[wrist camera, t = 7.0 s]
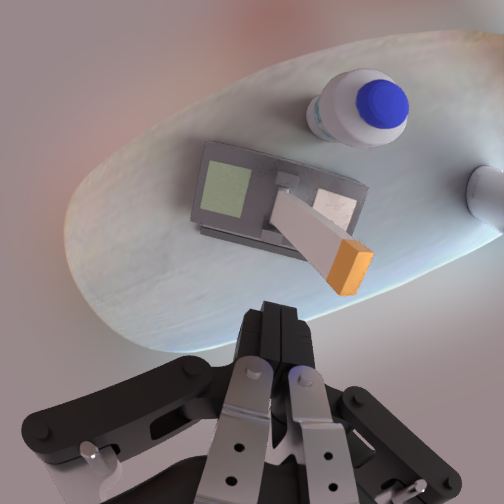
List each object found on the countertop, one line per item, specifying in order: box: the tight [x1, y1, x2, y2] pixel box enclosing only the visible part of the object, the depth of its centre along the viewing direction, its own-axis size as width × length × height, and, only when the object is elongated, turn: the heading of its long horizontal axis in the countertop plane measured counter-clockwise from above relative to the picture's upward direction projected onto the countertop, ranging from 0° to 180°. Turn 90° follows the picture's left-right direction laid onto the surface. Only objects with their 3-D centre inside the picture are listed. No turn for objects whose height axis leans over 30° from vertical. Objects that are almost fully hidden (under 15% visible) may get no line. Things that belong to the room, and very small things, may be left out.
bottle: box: [306, 69, 409, 149], centre depth 22 cm, size 7×7×20 cm
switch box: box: [190, 141, 369, 248], centre depth 32 cm, size 20×10×7 cm, turn 76°
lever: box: [269, 186, 374, 296], centre depth 25 cm, size 2×4×15 cm, turn 166°
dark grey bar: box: [200, 224, 308, 261], centre depth 38 cm, size 18×2×1 cm, turn 76°
